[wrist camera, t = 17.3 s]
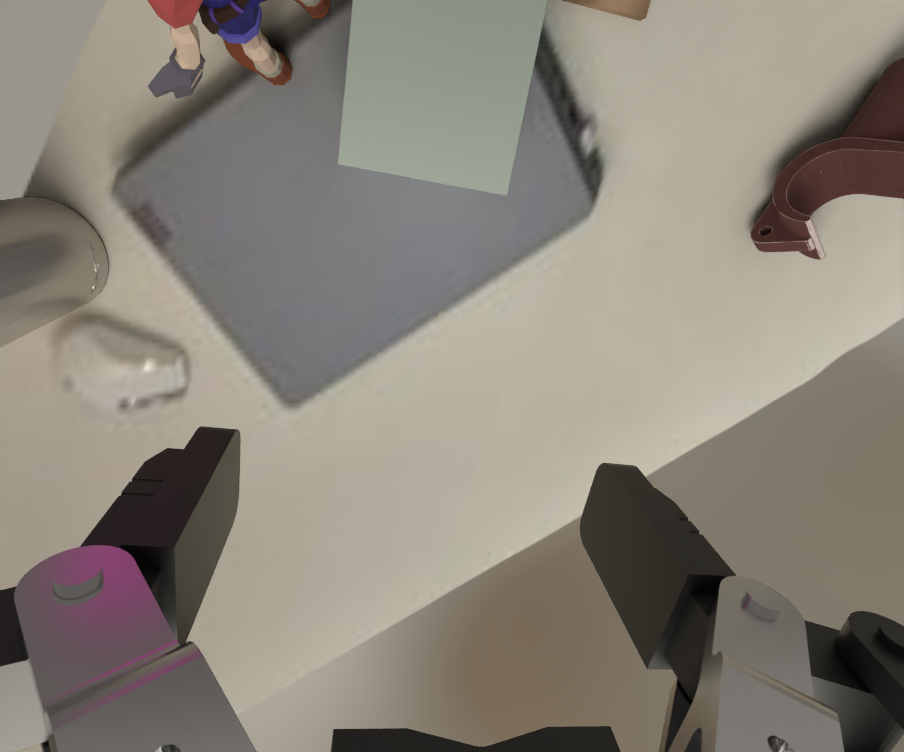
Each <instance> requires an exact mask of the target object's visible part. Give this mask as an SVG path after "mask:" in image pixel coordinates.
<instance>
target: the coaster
mask: <svg viewBox="0 0 904 752" xmlns="http://www.w3.org/2000/svg"><path fill="white" fill-rule="evenodd" d="M563 1H567V2H571V3H575V4H579V5H582V6H586V7H590V8H594V9H598V10H602V11H605V12H609V13H613V14H617V15H621V16H625V17H628V18H632V19H636V20H642V19H644V18H646V15H647V12H648V8H649V4H650V0H563Z"/></svg>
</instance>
